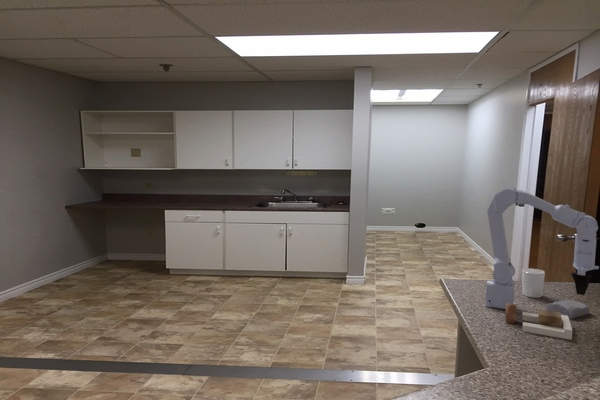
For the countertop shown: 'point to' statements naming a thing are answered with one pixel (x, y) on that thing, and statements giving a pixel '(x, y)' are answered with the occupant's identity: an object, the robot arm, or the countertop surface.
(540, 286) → the white cup
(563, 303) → the stone block
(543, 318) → the string block
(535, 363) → the countertop surface
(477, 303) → the countertop surface
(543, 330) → the frame
